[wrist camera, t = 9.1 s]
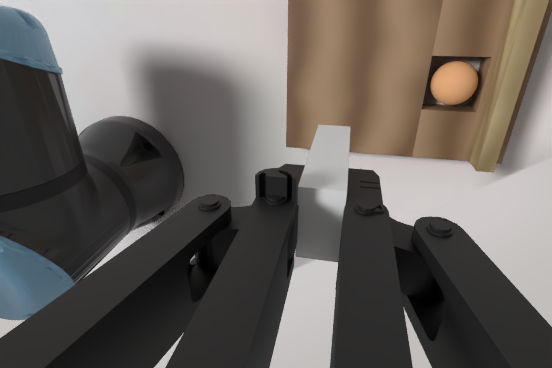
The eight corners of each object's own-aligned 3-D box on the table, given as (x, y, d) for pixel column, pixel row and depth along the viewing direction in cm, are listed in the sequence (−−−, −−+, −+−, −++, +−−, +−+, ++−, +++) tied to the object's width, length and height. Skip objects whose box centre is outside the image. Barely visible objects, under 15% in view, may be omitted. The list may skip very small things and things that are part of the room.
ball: (419, 99, 35) (439, 109, 31) (427, 58, 33) (449, 64, 29) (457, 99, 35) (480, 109, 32) (467, 58, 33) (493, 64, 30)
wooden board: (290, 139, 40) (281, 155, 36) (293, -5, 34) (283, -7, 29) (492, 154, 36) (510, 173, 32) (542, -7, 29) (575, -10, 25)
